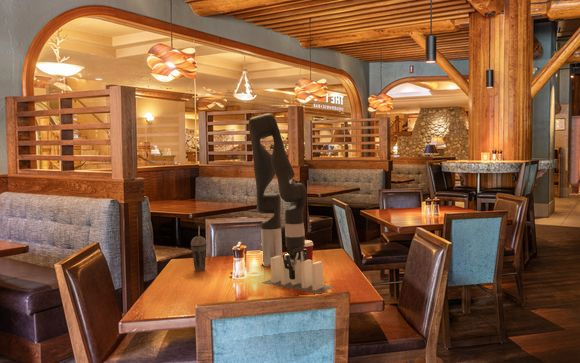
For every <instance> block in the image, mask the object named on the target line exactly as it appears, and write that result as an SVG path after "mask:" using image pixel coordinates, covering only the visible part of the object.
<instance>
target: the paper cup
mask: <svg viewBox="0 0 580 363" xmlns="http://www.w3.org/2000/svg"><path fill="white" fill-rule="evenodd" d="M303 249H308V255H307V260H312V261H313V259H314V258H313V255H314V253H313V252H314V251H313V250H314V242H313V241H312V240H310V239H309V240H308V239H305V246H304V247H303ZM303 259H304V258H303Z"/></svg>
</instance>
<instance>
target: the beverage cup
mask: <svg viewBox="0 0 580 363" xmlns="http://www.w3.org/2000/svg"><path fill="white" fill-rule="evenodd" d="M200 227H201V226H200V225H198V235H196V236H194V237H193V238H192V239H191V241H190V248H191V253H192V260H193V261H192V262H193V268H194V271H195V272H203V271H205V270H206V257H207V256H206V255H207V245H208V243H207V241H206V239H205V237H203V236H201V235H200V230H201V228H200Z"/></svg>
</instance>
